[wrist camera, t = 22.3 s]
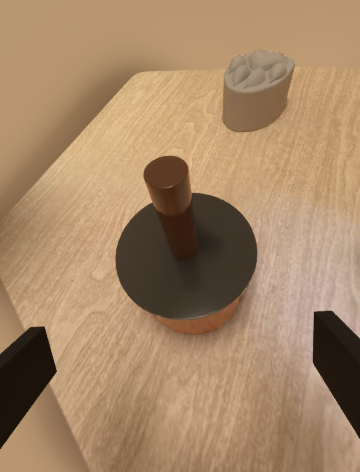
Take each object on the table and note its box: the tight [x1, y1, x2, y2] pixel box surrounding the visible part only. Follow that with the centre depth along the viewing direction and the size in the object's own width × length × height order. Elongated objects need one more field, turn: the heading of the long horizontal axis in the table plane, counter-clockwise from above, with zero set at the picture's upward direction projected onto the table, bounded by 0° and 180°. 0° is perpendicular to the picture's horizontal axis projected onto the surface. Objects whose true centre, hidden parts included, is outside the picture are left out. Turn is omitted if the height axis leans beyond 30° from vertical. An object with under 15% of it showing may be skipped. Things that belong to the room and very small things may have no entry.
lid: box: [116, 156, 257, 321], centre depth 18 cm, size 13×13×10 cm
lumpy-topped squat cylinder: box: [223, 50, 295, 132], centre depth 42 cm, size 10×13×9 cm
